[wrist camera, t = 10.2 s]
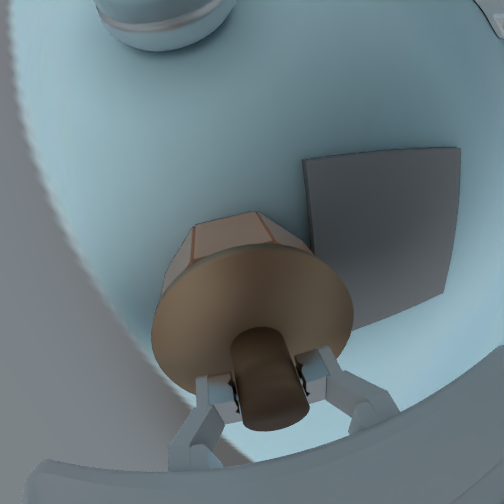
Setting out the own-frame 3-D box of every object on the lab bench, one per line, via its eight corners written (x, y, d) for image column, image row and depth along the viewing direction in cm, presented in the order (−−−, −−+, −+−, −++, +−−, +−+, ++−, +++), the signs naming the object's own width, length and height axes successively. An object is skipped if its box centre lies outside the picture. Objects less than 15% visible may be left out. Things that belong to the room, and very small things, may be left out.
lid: (345, 219, 11) (416, 274, 7) (344, 365, 16) (374, 423, 11) (119, 276, 11) (84, 358, 6) (193, 404, 15) (197, 469, 11)
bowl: (299, 201, 16) (330, 227, 12) (309, 316, 20) (330, 356, 16) (151, 235, 15) (136, 272, 11) (193, 344, 19) (194, 390, 15)
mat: (455, 147, 16) (460, 148, 15) (439, 289, 22) (443, 292, 22) (302, 159, 15) (305, 161, 14) (316, 336, 21) (318, 341, 21)
